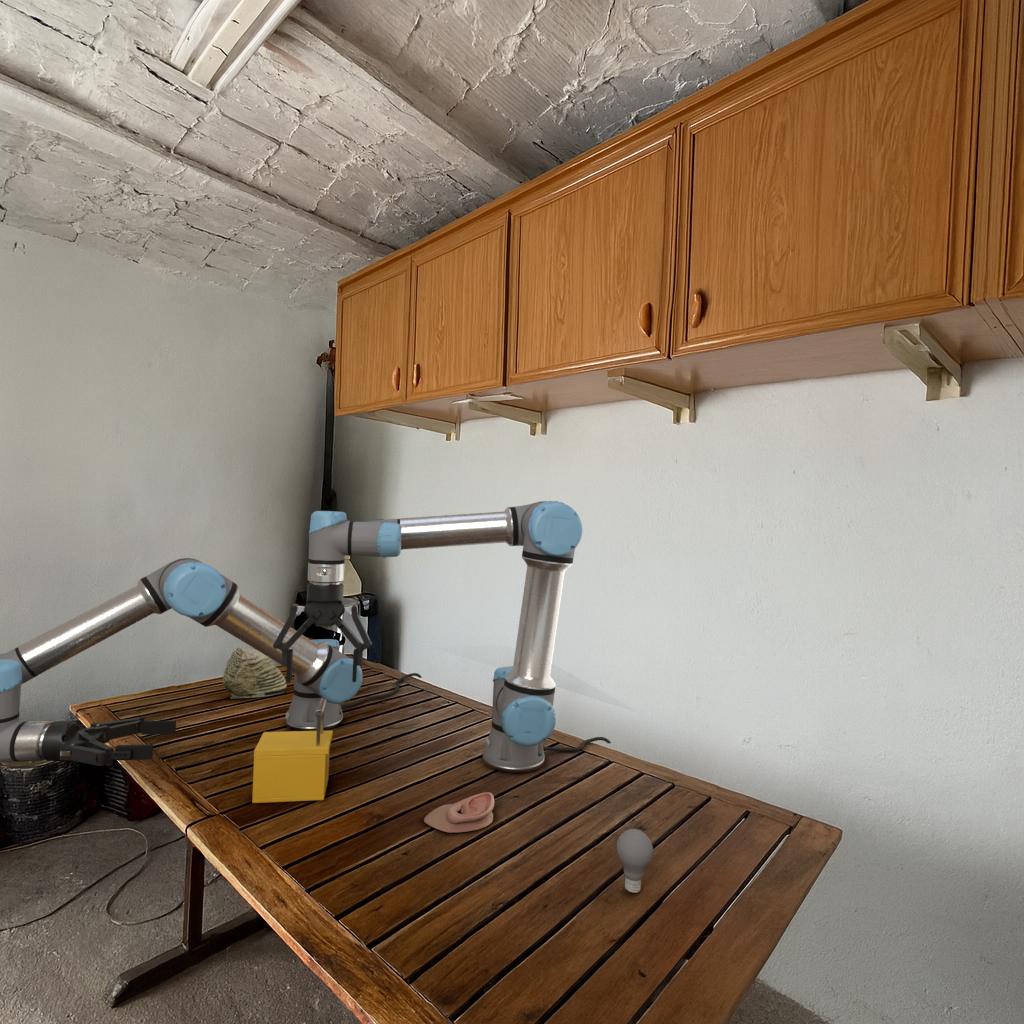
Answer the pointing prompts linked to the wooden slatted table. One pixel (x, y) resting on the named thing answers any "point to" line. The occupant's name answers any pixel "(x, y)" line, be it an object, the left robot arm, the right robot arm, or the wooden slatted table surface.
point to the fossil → (252, 675)
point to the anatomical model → (463, 814)
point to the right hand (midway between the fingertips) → (322, 680)
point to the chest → (290, 778)
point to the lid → (297, 739)
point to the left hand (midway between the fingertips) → (164, 739)
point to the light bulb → (634, 857)
